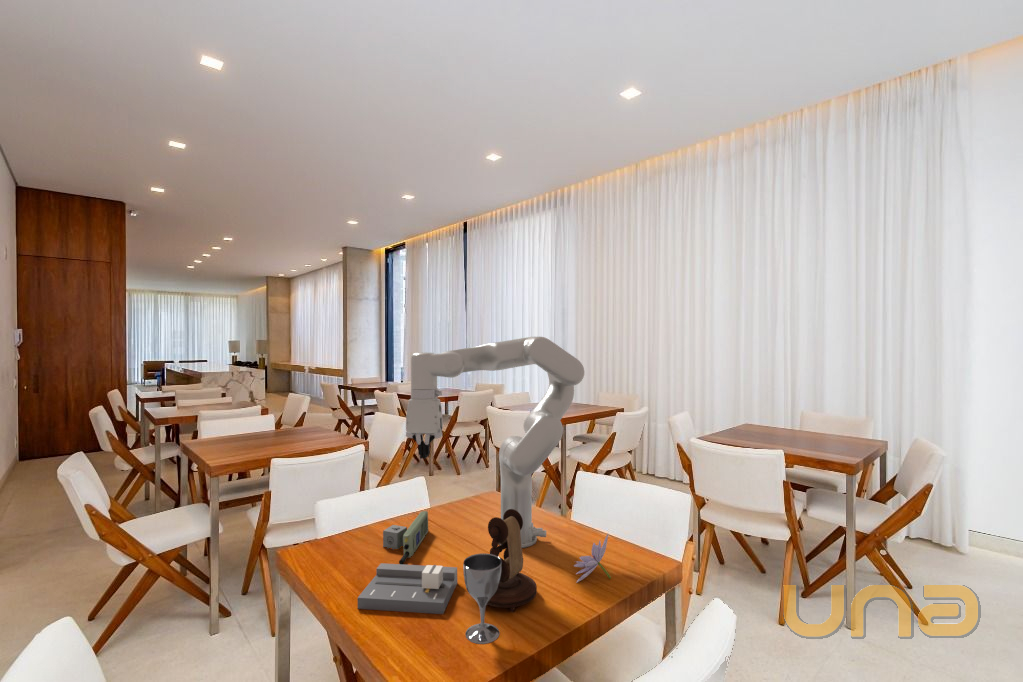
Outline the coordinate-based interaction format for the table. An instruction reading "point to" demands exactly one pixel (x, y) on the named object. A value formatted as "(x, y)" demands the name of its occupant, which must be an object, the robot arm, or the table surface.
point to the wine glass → (482, 592)
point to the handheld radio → (414, 535)
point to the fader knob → (432, 577)
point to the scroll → (510, 562)
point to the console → (407, 590)
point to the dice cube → (393, 536)
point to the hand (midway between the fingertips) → (424, 457)
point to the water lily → (592, 560)
